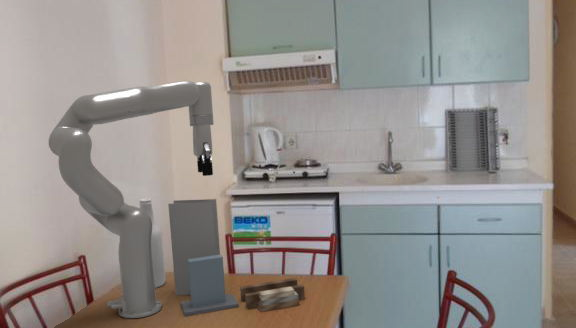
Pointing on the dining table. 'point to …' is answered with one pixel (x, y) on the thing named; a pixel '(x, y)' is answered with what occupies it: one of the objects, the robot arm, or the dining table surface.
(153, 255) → the alcohol
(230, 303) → the slate mat
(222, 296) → the blue grey brick
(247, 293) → the rack
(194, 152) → the robot arm
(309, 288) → the dining table surface
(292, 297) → the offcut stack
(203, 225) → the grey tall flat block
